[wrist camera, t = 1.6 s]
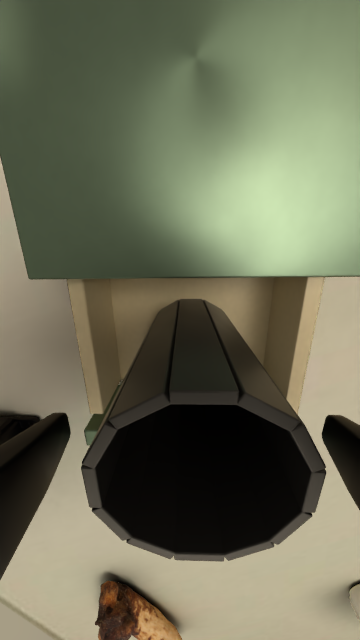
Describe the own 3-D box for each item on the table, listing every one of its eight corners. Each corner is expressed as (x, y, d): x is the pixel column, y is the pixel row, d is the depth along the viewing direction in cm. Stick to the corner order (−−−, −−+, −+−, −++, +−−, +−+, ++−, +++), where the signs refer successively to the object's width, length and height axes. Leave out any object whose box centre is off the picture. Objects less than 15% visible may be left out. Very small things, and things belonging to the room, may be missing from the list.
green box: (291, 268, 14) (367, 276, 8) (92, 270, 15) (27, 279, 9) (334, -14, 10) (546, -401, 4) (54, -2, 10) (-117, -339, 5)
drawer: (263, 436, 18) (289, 496, 13) (117, 435, 18) (95, 492, 14) (294, 226, 13) (353, 210, 8) (90, 229, 13) (41, 215, 9)
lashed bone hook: (73, 580, 27) (150, 642, 31) (50, 643, 23) (142, 706, 27) (126, 564, 25) (201, 632, 29) (112, 629, 21) (203, 700, 25)
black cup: (230, 376, 15) (301, 564, 6) (151, 375, 15) (100, 558, 6) (235, 298, 13) (350, 391, 4) (146, 298, 13) (63, 390, 4)
